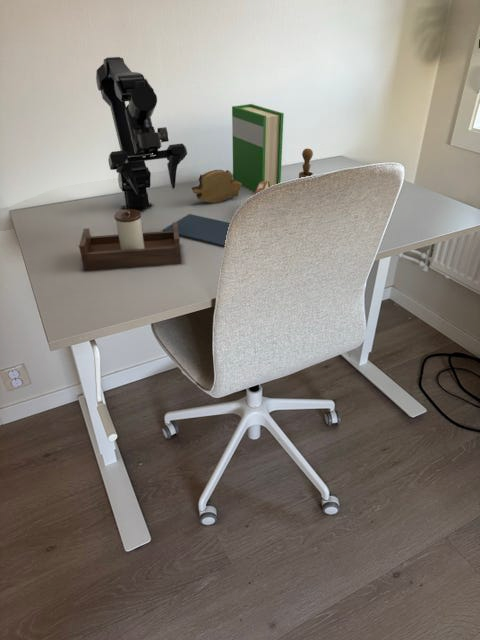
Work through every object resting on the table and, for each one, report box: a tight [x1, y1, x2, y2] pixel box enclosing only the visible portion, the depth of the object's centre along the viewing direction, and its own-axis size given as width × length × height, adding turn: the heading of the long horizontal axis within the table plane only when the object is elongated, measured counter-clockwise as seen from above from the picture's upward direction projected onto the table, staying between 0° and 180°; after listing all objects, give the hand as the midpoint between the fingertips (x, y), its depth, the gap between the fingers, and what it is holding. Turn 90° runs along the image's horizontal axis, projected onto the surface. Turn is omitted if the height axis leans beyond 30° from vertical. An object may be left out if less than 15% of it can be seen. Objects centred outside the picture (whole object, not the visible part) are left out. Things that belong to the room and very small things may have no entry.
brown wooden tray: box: [78, 221, 182, 272], centre depth 115 cm, size 10×23×6 cm, turn 99°
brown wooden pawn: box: [298, 148, 314, 179], centre depth 136 cm, size 7×6×18 cm
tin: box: [254, 181, 270, 195], centre depth 137 cm, size 15×3×8 cm, turn 168°
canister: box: [113, 209, 145, 250], centre depth 112 cm, size 6×6×10 cm
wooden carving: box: [191, 169, 243, 204], centre depth 145 cm, size 16×5×10 cm, turn 120°
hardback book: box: [231, 103, 285, 192], centre depth 153 cm, size 18×7×24 cm, turn 33°
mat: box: [162, 213, 231, 248], centre depth 129 cm, size 20×13×1 cm, turn 61°
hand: (156, 191), depth 116 cm, fingers open, 9 cm apart
